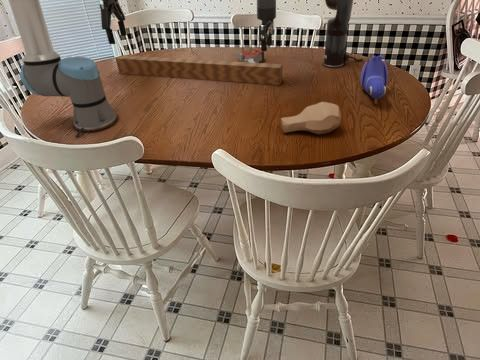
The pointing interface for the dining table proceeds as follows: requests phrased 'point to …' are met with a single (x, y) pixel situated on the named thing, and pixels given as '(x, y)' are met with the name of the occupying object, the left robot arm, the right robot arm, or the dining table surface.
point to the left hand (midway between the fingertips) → (118, 39)
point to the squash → (314, 119)
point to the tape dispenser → (251, 56)
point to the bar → (201, 69)
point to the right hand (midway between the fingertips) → (266, 48)
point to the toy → (374, 77)
